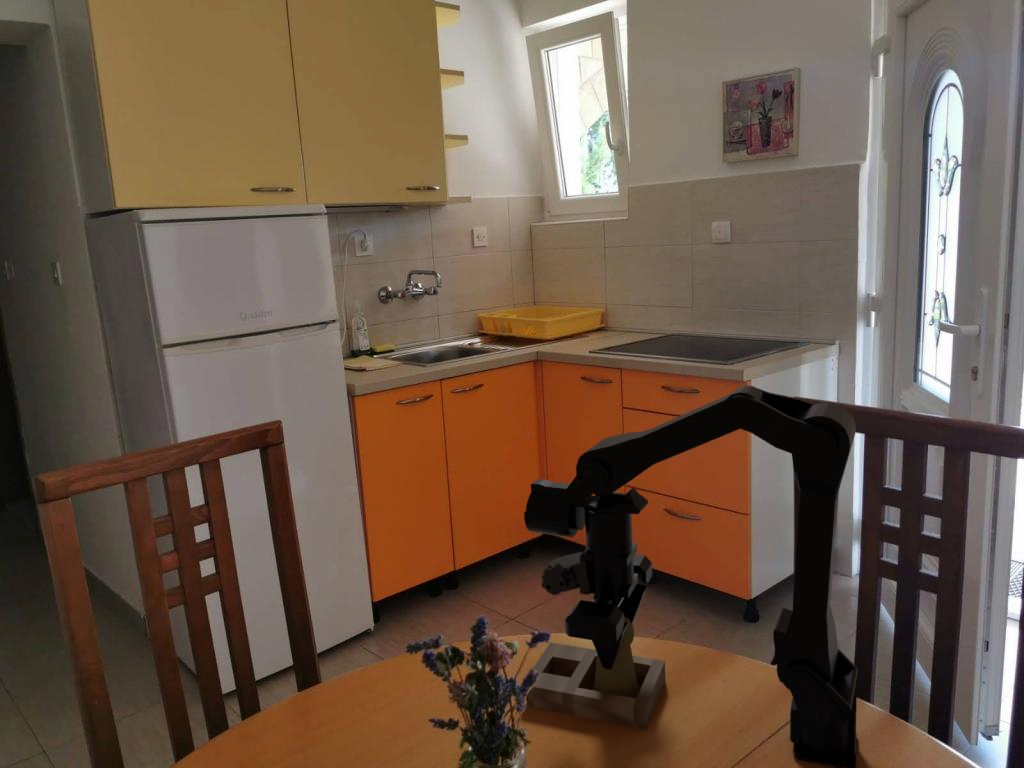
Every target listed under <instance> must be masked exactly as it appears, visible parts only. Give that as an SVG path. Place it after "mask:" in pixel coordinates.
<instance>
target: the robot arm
mask: <svg viewBox="0 0 1024 768" xmlns="http://www.w3.org/2000/svg"><path fill="white" fill-rule="evenodd" d="M856 429H857V428H856V421H855V418H854V417H853V415H851V413H850V412H849V411H848V410H847V409H846V408H845V407H843V406H840V404H838V403H833V402H819V403H817V404H815V403H814V402H810V401H808V400H804V399H802V398H798V397H795V396H794V397H793V396H788V395H783V394H779V393H774V392H769V391H766V390H764V389H761V388H759V387H756V386H754V385H743V386H739V387H738V388H736V389H735V390H734V391H732V392H731V393H729V394H727V395H724V396H722V397H719V398H717V399H715V400H713V401H711V402H708V403H707V404H703V405H702V406H699V407H698V408H695V409H692V410H690V411H688V412H686V413H682V415H679V416H677V417H675V418H672V419H670V420H668V421H665V422H663V423H661V424H659V425H656V426H653V427H651V428H650V429H645V430H642V431H636V432H635V431H632V432H625V433H621V434H617V435H613V436H612V435H611V436H608V437H605V438H603V439H601V440H600V441H598V442H597V443H595V444H594V445H593V446H592V447H591V448H589V449H587V450H586V451H585V452H583V453H582V454H581V455H580V456H579V457H578V458H577V463H576V465H575V470H576V471H575V473H576V475H575V476H574V478H573V479H572V480H571V482H570V483H567V482H555V481H551V480H547V479H542V478H541V479H540V478H538V479H536V480H535V481H533V482H532V483H531V484H530V494H529V496H528V498H527V502H526V506H525V510H524V513H523V518H524V524H525V527H526V529H527V531H529V532H531V533H538V534H544V535H552V536H558V537H566V538H574V537H575V536H576V535H577V533H578V531H583V529H585V545H586V546H585V549H584V550H583V551H579V552H576V553H575V552H574V553H570V554H566V555H563V556H562V555H561V556H559V557H555V558H553V559H552V560H551V561H550V562H549V563H548V564H547V565H546V567H545V568H544V569H543V570H542V574H541V576H540V577H541V579H542V582H541V587H542V588H543V589H544V590H546V592H547V593H548V594H551V595H552V596H558V595H560V593H564V592H569V591H573V590H577V589H579V594H580V595H587V596H588V595H589V596H590V595H591V594H593V597H592V601H591V600H583V599H580V600H579V601H578V602H577V603H575V605H574V606H573V607H572V608H571V610H570V611H569V613H568V614H567V615H566V617H565V619H564V623H565V625H564V626H565V627H564V628H565V634H566V636H567V637H570V638H575V639H582V640H589V641H592V644H593V646H594V650H596V652H597V654H598V657H599V659H600V662H601V664H602V667H603V668H605V669H612V667H613V664H614V661H615V658H616V656H617V653H618V650H619V647H620V644H621V642H622V639H623V636H624V633H625V631H626V628H627V625H628V623H627V622H624V617H626V618H628V619H629V620H630V621H631V623H632V625H633V623H634V621H635V618H636V617H637V614H638V611H639V608H640V607H641V606H640V605H641V604H642V601H643V599H644V595H645V594H646V591H647V588H648V587H647V584H648V583H649V582H650V580H651V578H652V577H653V562H652V560H650V559H649V558H648V556H646V555H645V554H636V553H637V552H638V543H637V542H633V520H632V519H633V516H632V515H640V514H641V512H642V511H644V509H646V507H647V506H648V505H649V500H648V498H646V497H645V496H643V494H640V493H639V491H637V489H636V488H635V487H631V488H630V489H629V491H627V492H626V493H625V492H616V491H618V490H619V489H621V488H622V487H623V486H625V485H626V484H628V483H630V482H631V481H633V480H634V479H635V478H636V477H638V476H640V475H641V474H642V473H644V472H645V471H646V470H648V469H649V468H651V467H652V466H654V465H656V464H658V463H661V462H664V461H666V460H668V459H670V458H673V457H675V456H678V455H680V454H683V453H685V452H687V451H690V450H692V449H695V448H697V447H700V446H702V445H705V444H707V443H709V442H712V441H714V440H717V439H719V438H721V437H723V436H726V435H728V434H731V433H733V432H736V431H738V430H743V431H745V432H748V433H750V434H752V435H754V436H756V437H757V438H759V439H761V440H762V441H764V442H766V443H767V444H769V445H771V446H772V447H773V448H776V449H778V450H780V451H783V452H786V453H789V454H791V458H792V467H793V472H794V477H795V481H796V485H797V488H798V492H799V505H798V506H799V507H798V523H797V538H796V539H797V540H796V553H795V554H796V555H795V569H794V583H793V584H794V586H793V601H792V610H791V609H787V608H785V607H782V608H780V609H781V610H780V612H779V616H778V618H777V620H776V624H775V625H774V629H773V633H772V634H773V635H772V636H773V645H774V653H773V654H772V655H773V656H772V659H771V660H770V666H776V675H777V678H778V680H779V682H780V684H781V683H782V685H784V687H785V688H786V689H787V690H789V691H790V693H791V696H792V698H791V704H790V714H789V715H790V717H789V720H790V722H789V726H790V727H789V729H790V730H789V732H790V733H789V740H790V742H791V743H793V755H792V756H793V757H794V758H795V759H799V760H803V761H808V762H812V763H813V762H814V763H819V764H823V765H829V766H834V767H837V768H839V767H840V768H857V711H858V710H857V709H858V708H857V695H856V694H855V689H856V682H857V678H858V677H857V676H858V670H859V669H858V667H857V666H856V665H855V664H854V663H853V662H852V661H851V659H849V658H848V656H846V655H845V654H844V653H843V652H842V651H841V649H839V645H838V643H839V642H838V637H837V628H836V622H835V619H834V614H833V612H832V607H831V599H832V587H833V574H834V573H833V572H834V560H835V559H834V558H835V546H836V533H837V520H838V519H837V518H838V509H839V508H838V507H839V506H838V505H839V495H840V489H841V485H842V481H843V477H844V474H845V470H846V467H847V464H848V461H849V456H850V453H851V450H852V447H853V443H854V439H855V436H856ZM639 575H641V581H642V583H643V584H640V583H638V582H639ZM645 584H646V585H645Z"/></svg>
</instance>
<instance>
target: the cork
mask: <svg viewBox="0 0 1024 768" xmlns="http://www.w3.org/2000/svg"><path fill="white" fill-rule="evenodd" d="M624 622H627V623H628V625H627V628H626V631H625V633H624V636H623V639H622V642H621V644H620V647H619V650H618V653H617V656H616V658H615V661H614V664H613V667H612V669H605V668H603V667H602V664H601V662H600V659H599V657H598V654H597V661H596V672H595V679H594V681H593V691H599V692H604V693H609V694H615V695H620V696H626V697H631V698H637V696H638V694H639V692H640V689H639V684H638V683H637V678H636V673H635V667H634V662H633V656H634V655H633V652H632V646H631V644H632V643H633V642H634V639H635V628H634V625H633V624H632V623H631V621H630V620H629V619H628V618H626V617H624Z"/></svg>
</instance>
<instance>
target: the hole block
mask: <svg viewBox="0 0 1024 768" xmlns="http://www.w3.org/2000/svg"><path fill="white" fill-rule="evenodd" d="M632 656H633V662H634V667H635V673H636V678H637V684H638V683H639V684H638V685H641V687H640V689H639V694H638V696H637V698H631V697H626V696H620V695H615V694H609V693H604V692H599V691H594V689H591V686H592V685H593V684H594V682H595V672H596V661H597V652H596V649H595V648H594V649H593V648H587V647H581V646H575V645H569V644H564V643H563V644H562V643H556V642H551V641H550V642H549V644H548V645H547V646H546V648H545V650H544V651H543V653H542V654H540V657H539V658H538V660H537V662H536V663H535V664H534V665H533V666H532V668H531V670H536V671H538V672H539V673H540V676H539V678H538V680H537V682H536V683H535V685H534V686H533V688H532V689H531V690H530V691H529V693H528V695H527V697H526V701H527V706H526V707H529V708H533V709H534V708H535V709H539V710H544V711H549V712H553V713H559V714H565V715H568V716H574V717H578V718H584V719H588V720H594V721H598V722H599V721H600V722H605V723H609V724H615V725H620V726H624V727H628V728H634V729H638V730H639V729H640V730H644V731H647V729H648V727H649V725H650V722H651V719H652V716H653V715H654V711H655V710H656V706H657V705H658V702H659V699H660V696H661V694H662V691H663V688H664V686H665V683H666V661H665V660H661V659H654V658H648V657H642V656H637V655H632Z"/></svg>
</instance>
